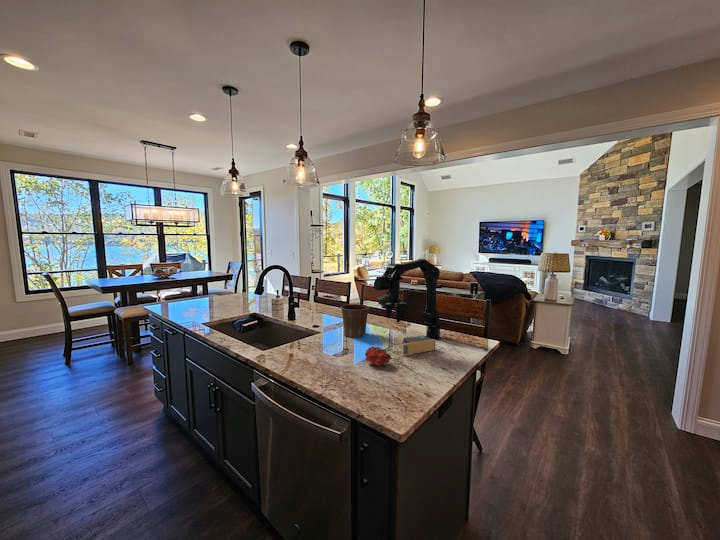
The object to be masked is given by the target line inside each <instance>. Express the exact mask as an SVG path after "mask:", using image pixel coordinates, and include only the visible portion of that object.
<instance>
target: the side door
mask: <svg viewBox="0 0 720 540" xmlns="http://www.w3.org/2000/svg"><path fill="white" fill-rule="evenodd" d="M435 350H436V339H431V340H424V341H418V342H411V343H405V344H402V343H401V355H402V356H407V355H412V354H418V353H424V352H425V353H426V352H429V351H435Z"/></svg>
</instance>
